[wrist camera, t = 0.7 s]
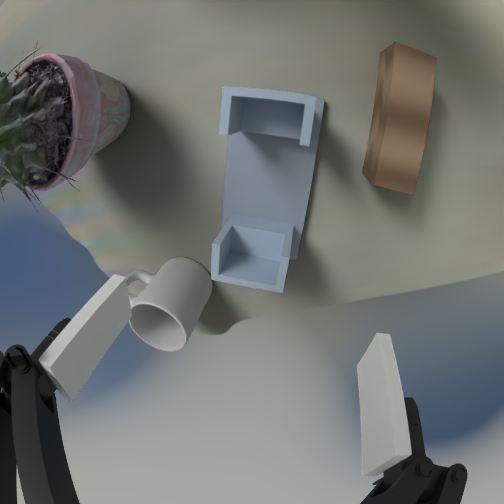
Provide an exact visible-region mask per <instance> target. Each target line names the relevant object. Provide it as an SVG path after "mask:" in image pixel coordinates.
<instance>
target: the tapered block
mask: <svg viewBox="0 0 504 504" xmlns="http://www.w3.org/2000/svg"><path fill="white" fill-rule="evenodd" d="M435 67H436V57H433V56H431V55H429V54H426V53H424V52H421V51H419V50H416V49H413V48H411V47H408V46H405V45H403V44H400V43H397V42H395V43H393V44H392V45H390V46H389V47H388V48H386V49H385V50H384V51H382V52H381V53H380V61H379V71H378V80H377V88H376V96H375V103H374V110H373V116H372V123H371V129H370V135H369V140H368V146H367V151H366V156H365V161H364V166H363V171H362V173H363V174H364V175H365V176H366V177H367V178H368V179H369V180H370V182H371V183H372V184H373V185H375V186H380V187H384V188H388V189H391V190H395V191H399V192H403V193H406V194H410V195H413V193H414V190H415V186H416V182H417V178H418V174H419V170H420V166H421V161H422V157H423V152H424V147H425V142H426V137H427V131H428V125H429V119H430V113H431V106H432V98H433V89H434V79H435Z"/></svg>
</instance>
